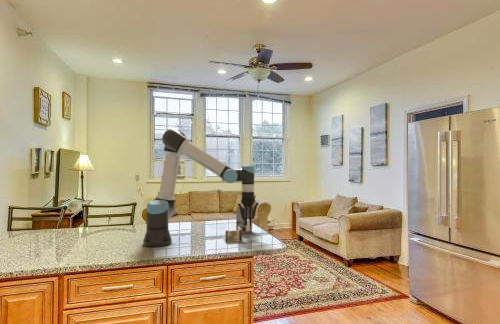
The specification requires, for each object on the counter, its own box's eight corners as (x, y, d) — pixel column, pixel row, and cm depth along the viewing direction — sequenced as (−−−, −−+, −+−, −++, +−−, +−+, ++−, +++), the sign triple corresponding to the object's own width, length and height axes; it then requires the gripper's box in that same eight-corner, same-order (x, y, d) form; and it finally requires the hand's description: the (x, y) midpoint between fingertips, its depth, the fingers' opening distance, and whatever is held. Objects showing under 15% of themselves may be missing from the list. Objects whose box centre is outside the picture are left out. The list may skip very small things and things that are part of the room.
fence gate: (241, 239, 182) (241, 229, 182) (239, 239, 182) (239, 229, 182) (239, 235, 192) (239, 226, 192) (237, 235, 192) (237, 226, 192)
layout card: (225, 243, 176) (225, 242, 176) (221, 236, 192) (221, 235, 192) (260, 241, 180) (260, 240, 180) (253, 235, 196) (253, 234, 196)
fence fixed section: (225, 241, 178) (225, 230, 178) (225, 241, 180) (225, 230, 180) (242, 240, 180) (242, 229, 181) (241, 240, 182) (241, 229, 182)
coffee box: (243, 233, 200) (243, 208, 201) (235, 232, 204) (235, 207, 204) (252, 231, 208) (252, 206, 208) (244, 230, 212) (244, 205, 212)
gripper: (256, 190, 195) (256, 228, 195) (236, 190, 192) (235, 229, 192) (260, 191, 188) (260, 231, 188) (238, 192, 184) (238, 232, 184)
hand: (247, 230), depth 190 cm, fingers closed
